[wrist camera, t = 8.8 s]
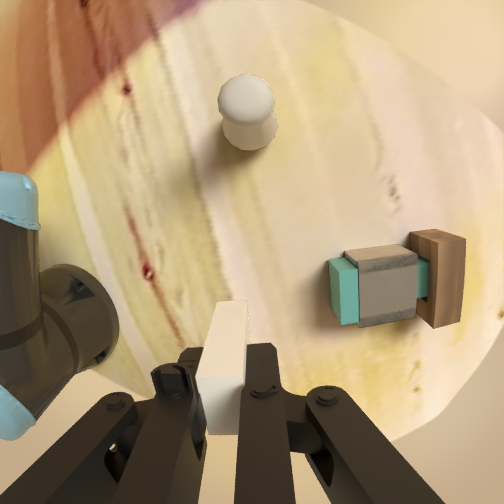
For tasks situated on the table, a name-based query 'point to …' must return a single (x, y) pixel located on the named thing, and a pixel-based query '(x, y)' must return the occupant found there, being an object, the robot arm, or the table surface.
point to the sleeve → (385, 283)
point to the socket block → (441, 275)
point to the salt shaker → (247, 112)
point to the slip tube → (347, 287)
